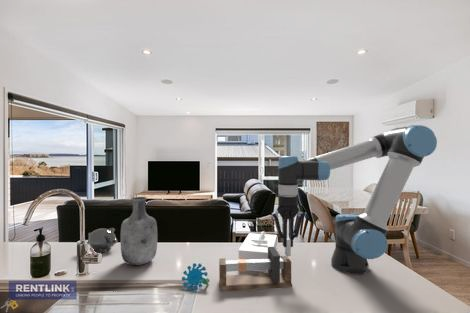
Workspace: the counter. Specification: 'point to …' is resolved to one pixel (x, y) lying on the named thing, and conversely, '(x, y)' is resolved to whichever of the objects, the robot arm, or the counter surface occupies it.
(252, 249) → the white pegged block
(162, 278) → the counter surface
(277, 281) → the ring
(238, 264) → the light grey bar
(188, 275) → the gear
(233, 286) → the wooden stand
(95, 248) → the piggy bank
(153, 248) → the vase
